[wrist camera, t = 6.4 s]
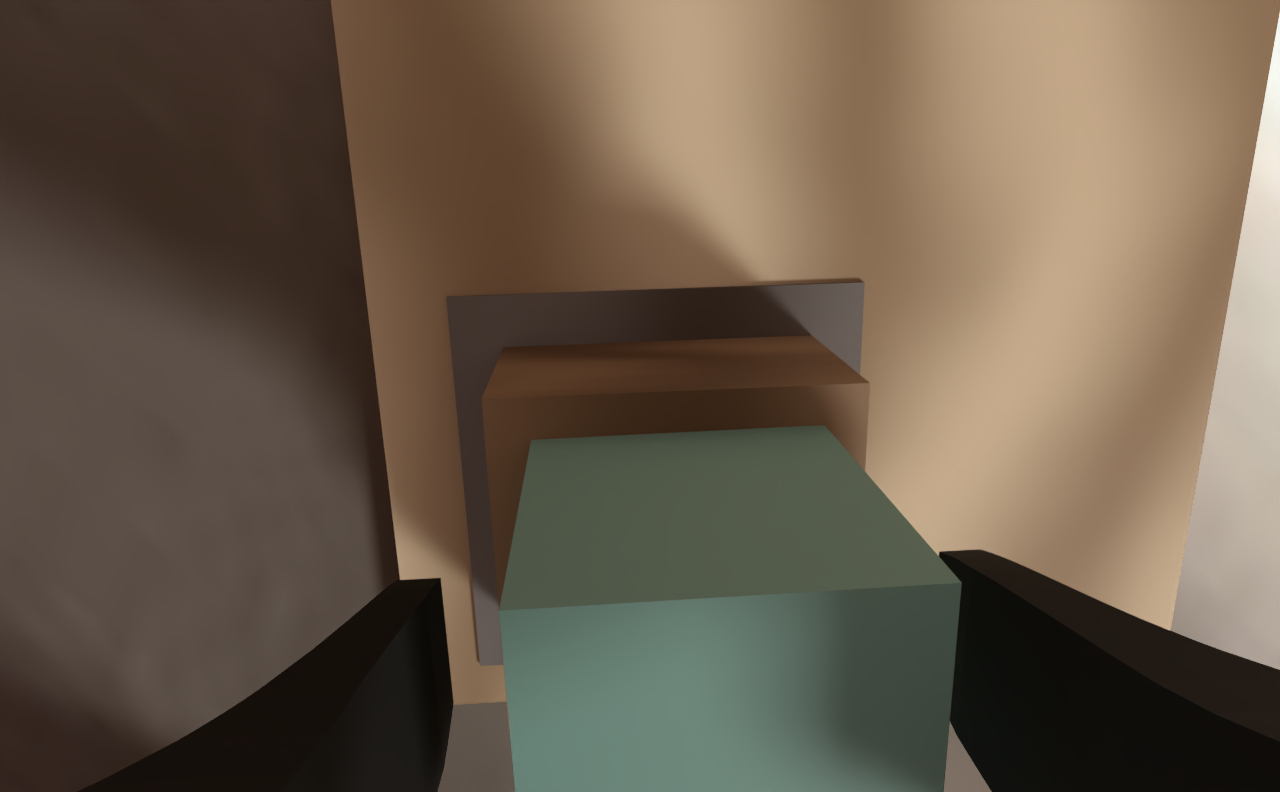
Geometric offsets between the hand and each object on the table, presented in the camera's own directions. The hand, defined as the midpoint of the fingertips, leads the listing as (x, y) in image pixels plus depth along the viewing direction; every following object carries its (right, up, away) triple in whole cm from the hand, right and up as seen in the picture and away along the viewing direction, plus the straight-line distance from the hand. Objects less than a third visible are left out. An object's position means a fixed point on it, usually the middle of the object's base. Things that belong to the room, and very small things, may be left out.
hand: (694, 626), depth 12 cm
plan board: (+3, +4, +5) cm, 7 cm away
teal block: (0, +1, +2) cm, 2 cm away
